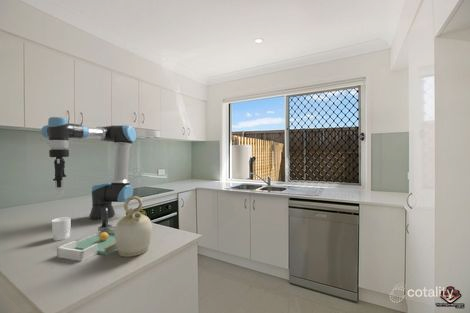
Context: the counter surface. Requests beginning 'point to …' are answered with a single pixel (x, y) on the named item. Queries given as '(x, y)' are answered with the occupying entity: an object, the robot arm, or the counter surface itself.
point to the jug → (133, 231)
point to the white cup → (61, 228)
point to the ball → (103, 236)
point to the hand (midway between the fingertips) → (60, 192)
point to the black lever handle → (105, 222)
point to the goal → (76, 251)
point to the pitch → (103, 246)
